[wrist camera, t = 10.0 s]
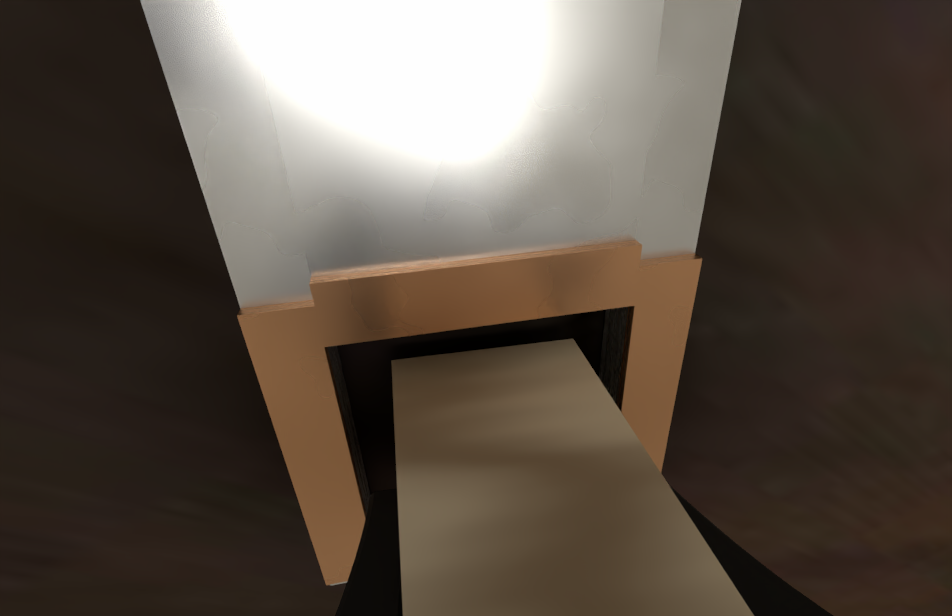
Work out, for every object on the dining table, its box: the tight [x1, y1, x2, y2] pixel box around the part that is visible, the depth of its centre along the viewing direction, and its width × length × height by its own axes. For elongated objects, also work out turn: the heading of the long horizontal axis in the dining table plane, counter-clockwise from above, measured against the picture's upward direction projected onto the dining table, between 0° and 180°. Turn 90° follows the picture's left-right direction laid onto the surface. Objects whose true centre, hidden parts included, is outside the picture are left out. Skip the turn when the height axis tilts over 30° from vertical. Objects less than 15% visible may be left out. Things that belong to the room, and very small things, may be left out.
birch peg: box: [391, 339, 754, 616], centre depth 10 cm, size 4×4×8 cm
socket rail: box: [140, 0, 741, 585], centre depth 10 cm, size 10×24×2 cm, turn 3°
